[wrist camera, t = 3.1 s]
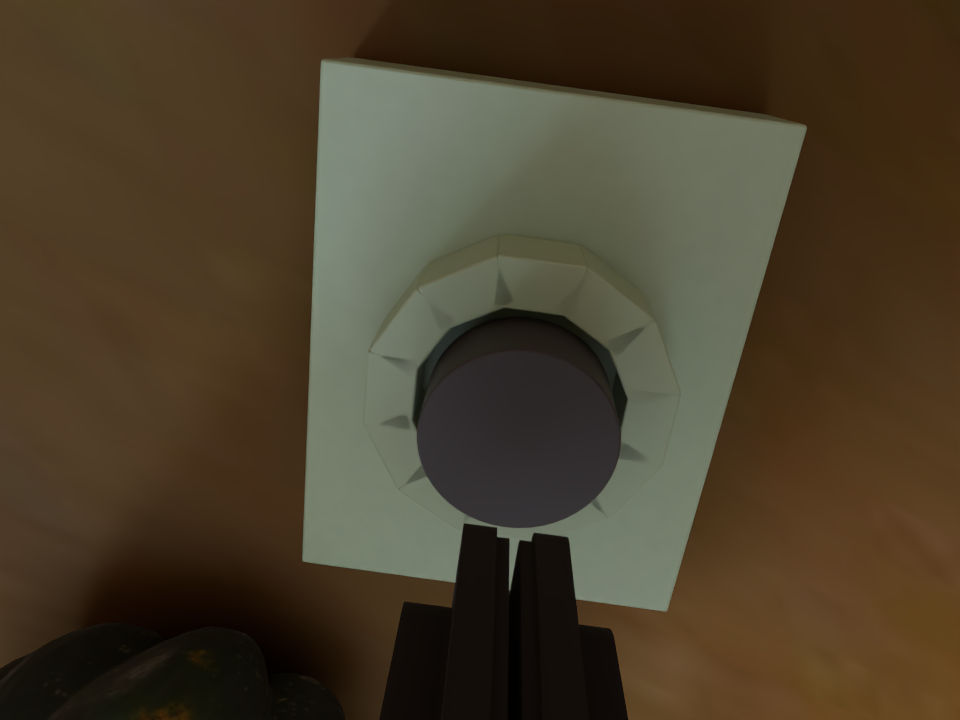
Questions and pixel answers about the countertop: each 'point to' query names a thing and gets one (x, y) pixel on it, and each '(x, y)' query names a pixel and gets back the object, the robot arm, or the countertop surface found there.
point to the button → (519, 424)
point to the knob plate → (528, 297)
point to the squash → (157, 679)
